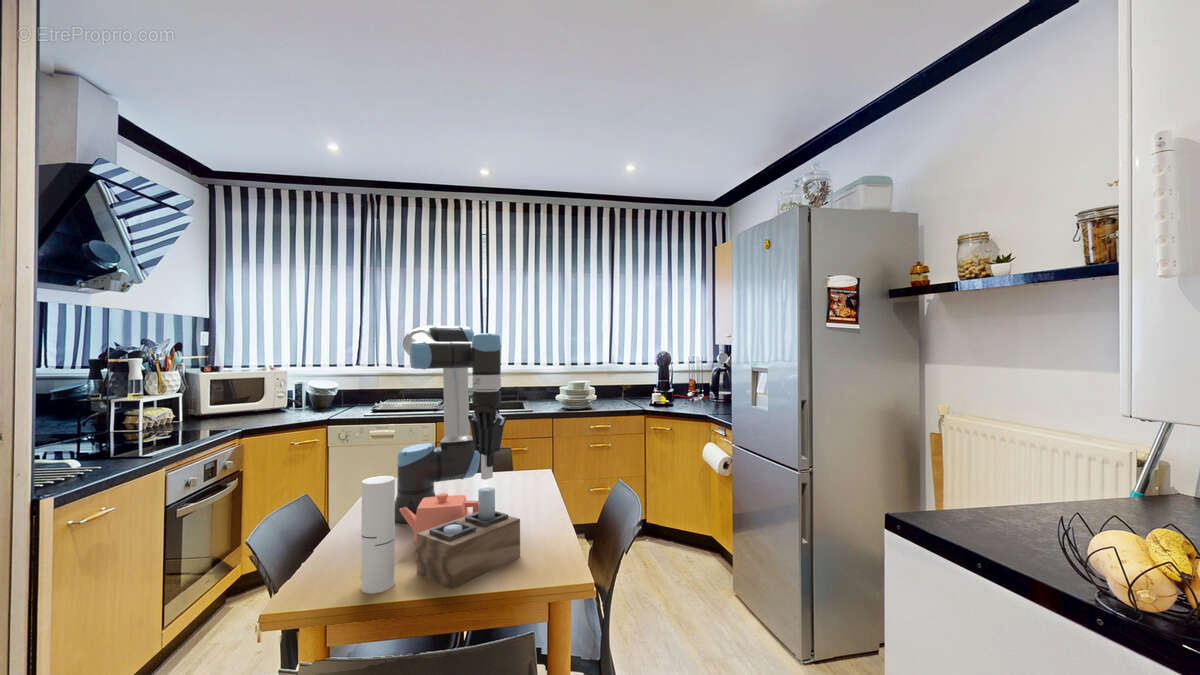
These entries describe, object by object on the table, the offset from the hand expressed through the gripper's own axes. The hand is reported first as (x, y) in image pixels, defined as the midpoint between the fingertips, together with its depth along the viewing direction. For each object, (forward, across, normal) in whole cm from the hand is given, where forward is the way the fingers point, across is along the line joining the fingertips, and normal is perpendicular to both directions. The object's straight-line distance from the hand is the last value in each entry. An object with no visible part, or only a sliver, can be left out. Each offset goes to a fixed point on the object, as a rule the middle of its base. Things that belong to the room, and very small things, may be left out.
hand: (486, 478), depth 131 cm
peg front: (+19, 0, -11) cm, 22 cm away
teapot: (+21, -18, -1) cm, 28 cm away
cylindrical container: (+21, -9, -25) cm, 34 cm away
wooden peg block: (+21, 0, -5) cm, 22 cm away
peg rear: (+12, 0, 0) cm, 12 cm away
